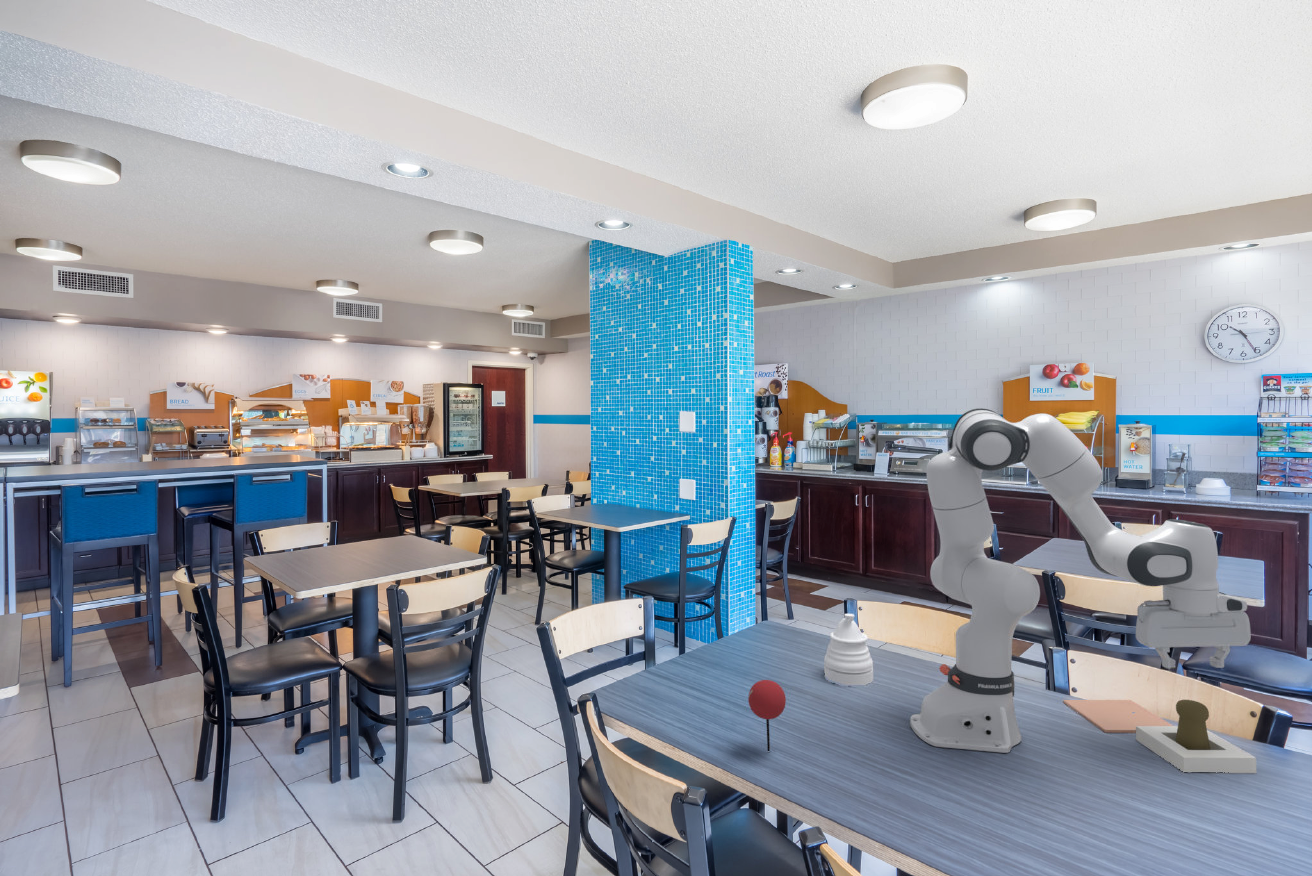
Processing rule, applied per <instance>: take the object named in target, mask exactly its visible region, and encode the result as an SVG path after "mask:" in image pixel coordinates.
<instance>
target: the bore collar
mask: <svg viewBox="0 0 1312 876" xmlns="http://www.w3.org/2000/svg"><path fill="white" fill-rule="evenodd" d="M1177 729H1178V725H1173V726H1136V733H1135V740H1136V741H1137V742H1138V743H1140V744H1141V745H1143V747H1146V748H1147V749H1149V750H1150V751H1151V752H1153V753H1154V754H1156V755H1158V756H1159V757H1160V756H1161V757H1160V758H1161V759H1163V758H1164V759H1163V760H1165V762H1168V763H1169V762H1170V763H1171V765H1172V766H1173V765H1174V766H1173V767H1175V768H1176V767H1177V768H1176V769H1177V770H1179V769H1180V770H1179V771H1180V772H1182V771H1183V772H1182V773H1184V772H1216V773H1215V774H1218V773H1217V772H1223V773H1222V774H1257V757H1256V756H1254V755H1252V754H1250V753H1249V752H1247V751H1246V750H1244V749H1241V748H1240V747H1239V746H1236V745H1235V744H1233V743H1231V742H1229V741H1228V740H1226V739H1224V738H1222V737H1221V736H1219V735H1217V734H1215V733H1214V732H1211V731H1209V730H1208V729H1207V733H1208V739H1209V744H1210V750H1187V749H1186V748H1184V747H1183V746H1181V745H1179V744H1178V743H1176V735H1177ZM1170 763H1169V764H1170ZM1224 772H1225V773H1224ZM1228 772H1229V773H1228Z"/></svg>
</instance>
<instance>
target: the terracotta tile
mask: <svg viewBox="0 0 1312 876" xmlns="http://www.w3.org/2000/svg"><path fill="white" fill-rule="evenodd" d="M1063 702H1064V703H1063ZM1062 703H1063V704H1065V705H1066V706H1067V707H1068V708H1070V709H1072V710H1073V711H1074V710H1075V711H1074V712H1076V713H1077V712H1078V713H1077V714H1079V715H1080V716H1081V715H1082V717H1083V718H1084V719H1086V720H1087V721H1088V722H1089V723H1091V724H1092V725H1094V726H1095V727H1097V728H1098V729H1099V730H1100V731H1102V732H1103V733H1107V734H1108V733H1109V734H1112V733H1113V734H1117V733H1118V734H1123V733H1124V734H1136V726H1174V725H1173V724H1171V723H1170V722H1168V721H1166V720H1165V719H1163V718H1161V717H1159V716H1158V715H1156V714H1155V713H1153V712H1151V711H1150V710H1148V709H1146V708H1145V707H1143V706H1142V705H1140V704H1138V703H1136V702H1135V701H1134V700H1131V699H1063V700H1062ZM1132 712H1135V713H1132Z"/></svg>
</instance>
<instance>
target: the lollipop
mask: <svg viewBox="0 0 1312 876" xmlns="http://www.w3.org/2000/svg"><path fill="white" fill-rule="evenodd" d="M786 698H787V697H786V693H785V691H784V689H783V688H782V686H781V685H780V684H779V683H778V682H776V681H773V680H769V679H761V680H759V681H756V682H755V683H754V684H753V685H752V686H751V687H750V689H749V692H748V696H747V699H748V701H747V702H748V705H749V707H750V709H751V712H752V713H753V714H754V715H756V716H757V717H759V718H760V719H763V720H766V740H767V741H766V742H767V744H766V745H767V747H766V748H767V751H770V752H771V749H770V747H771V745H770V744H771V743H770V720H773V719H776V718H778V717H779V716H780V715H781V714H782V713H783V712H784V711H785V710H784V709H785V707H786V703H787V702H786V701H787V699H786Z"/></svg>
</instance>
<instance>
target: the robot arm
mask: <svg viewBox="0 0 1312 876" xmlns="http://www.w3.org/2000/svg"><path fill="white" fill-rule="evenodd" d="M948 443H949V444H948V447H949V450H947V451H944V452H940V453H938V454H937V455H935V456H933V457H932V458H931V459H929V461H928V463H927V465H926V470H925V471H926V482H927V483H926V485H927V490H928V495H929V496H928V497H929V499H930V503H931V507H932V511H933V514H934V519H935V522H936V526H937V529H938V534H939V539H940V540H939V542H940V548H939V554H938V556H936V558H935V559H934V560H933V562H932V564H931V567H930V573H929V574H930V580H931V583H932V585H933V586H934V588H935V589H937V590H938V591H940V592H941V593H943V594H944V595H946V596H947V597H949V598H951V599H952V600H955V601H958V602H962V603H965V604H968V605H970V606H971V608H972V609H971V616H970V619H969V621H968V622H966V623H964V624H962V625H960V626H959V627H958V628H957V629H956V631H955V664H954V665H953V666H952V668H950V667H949V666H948V665H947V664H946V663H945V664H944V663H943V664H940V665H939V671H940V673H942V674H943V676H944V675H945V676H947V681H946V682H945V683H943V684H941V685H940V686H939V687H937V688H936V689H934V690H932V691H930V693H928V694H926V695H925V696H924V697H923V699H922V702H921V706H920V713H918V714H917V713H916V714H912V715H911V716H910V719H909V725H910V727H911V729H912V731H913V732H914V733H915V735H916V736H917V737H919V738H920V739H921V740H922V741H923V742H926V743H927V744H929V745H931V746H933V747H936V748H937V747H938V748H947V749H948V748H949V749H960V750H961V749H962V750H969V751H981V752H990V753H991V752H992V753H1006V754H1008V753H1010V752H1011V750H1012V748H1013V747H1014V746H1017V745H1018V744H1020V743H1021V742H1022V737H1023V736H1022V734H1021V732H1020V729H1019V724H1018V721H1017V715H1016V710H1015V704H1014V703H1015V701H1014V697H1015V685H1016V684H1015V673H1014V672H1013V670H1012V653H1013V652H1012V651H1013V648H1012V647H1013V636H1014V633H1015V631H1016V628H1017V625H1018V624H1019V622H1020V621H1021V619H1022V618H1024V617H1025V616H1027V615H1029V614H1031V613H1032V612H1033V611H1034V610H1035V609H1036V608H1037V606H1038V603H1039V601H1040V598H1041V589H1040V588H1041V587H1040V584H1039V582H1038V579H1037V578H1036V577H1035V575H1034V574H1033V573H1031V572H1030V571H1027V570H1025V569H1023V568H1021V567H1019V566H1017V565H1016V564H1013V563H1011V562H1005V561H1002V560H998V559H997V560H996V559H993V558H988V556H987V555H986V553H985V549H984V547H985V546H984V545H985V544H984V543H986V542H987V540H989V539H990V538H991V537H992V535H993V534H994V530H995V525H994V521H993V516H992V513H991V510H990V506H989V502H988V499H987V495H986V492H985V489H984V485H983V481H982V473H983V471H987V472H988V471H990V472H991V471H997V470H998V471H999V470H1002V469H1005V468H1007V467H1010V466H1013V465H1016V464H1019V463H1022V464H1023V465H1024V466H1025V467H1026V468H1027V470H1029V472H1031V475H1033V476H1034V478H1035V479H1036V480H1037V482H1038V483H1040V484H1041V487H1043V488H1044V490H1046V491H1047V493H1048V494H1049V495H1050V496H1051V497H1052V498H1053V499H1054V500H1055V502H1056V504H1057V505H1058V507H1059V508H1060V509H1061V511H1062V512H1063V514H1065V515H1064V516H1066V517H1067V520H1069V521H1070V523H1071V524H1072V526H1073V527H1074V529H1075V530H1076V531H1077V532H1078V534H1079V535H1080V537H1081V538H1082V540H1083V543H1084V545H1085V548H1086V552H1087V556H1088V558H1089V560H1090V562H1091V564H1092V565H1093V567H1094V568H1095V569H1097V570H1098V571H1099V572H1102V573H1103V574H1105V575H1110V576H1114V577H1118V578H1121V579H1122V580H1123V579H1124V580H1127V581H1129V582H1131V583H1135V584H1139V585H1141V586H1145V587H1162V599H1157V600H1151V599H1150V600H1144V602H1142V603H1141V604H1140V605H1139V606H1137V610H1136V612H1137V618H1136V623H1135V625H1136V626H1135V639H1136V640H1137V641H1138V642H1139V643H1140V644H1141V645H1143V646H1146V647H1147V648H1155V650H1156V652H1157V654H1158V655H1159V656H1160V658H1161V665H1162V667H1164V668H1165V669H1168V670H1169V669H1176V663H1177V662H1176V659H1174V658H1172V657H1170V655H1169V654H1168V653H1170V652H1171V650H1170V648H1191V647H1192V648H1193V647H1194V648H1196V647H1197V648H1198V647H1201V648H1203V647H1214V648H1216V650H1215V652H1214V655H1213V656H1209V665H1210V666H1211V667H1214V668H1217V669H1218V668H1224V667H1225V660H1226V658H1227V656H1228V655H1229V653H1230V652H1231V647H1240V646H1241V647H1242V646H1243V647H1245V646H1248V644H1249V643H1250V642H1251V623H1250V622H1251V621H1250V618H1249V616H1248V614H1247V613H1246V612H1245V611H1247V610H1248V603H1247V601H1246V600H1244V599H1241V598H1239V597H1235V596H1232V595H1229V594H1226V593H1223V592H1221V591H1220V585H1219V583H1218V579H1217V570H1218V568H1219V554H1218V545H1217V539H1216V536H1215V533H1214V531H1213V529H1212V528H1211V527H1210V526H1208V525H1206V524H1204V523H1198V522H1196V521H1195V522H1194V521H1189V520H1182V519H1175V518H1172V519H1171V518H1170V519H1167V520H1165V521H1164V523H1163V524H1162V525H1160V526H1158V527H1157V528H1155V529H1154V530H1152V531H1150V532H1147V533H1144V534H1141V535H1137V534H1133V533H1129V532H1127V531H1124V530H1123V529H1120V528H1118V527H1117V526H1115V525H1114V524H1113V523H1111V521H1110V519H1109V518H1108V517H1107V515H1105V513H1104V511H1103V510H1102V508H1101V507H1100V506H1099V505H1098V503H1097V502H1096V501H1095V500H1094V497H1093V493H1095V492H1096V491H1097V490H1098V489H1099V487H1100V486H1101V483H1102V480H1103V470H1102V467H1101V466H1100V464H1099V462H1098V460H1097V459H1096V458H1095V456H1094V455H1093V454H1092V453H1091V451H1090V450H1089V448H1087V446H1085V444H1084V443H1083V442H1082V441H1081V439H1080V438H1078V437H1077V435H1076V434H1074V432H1072V431H1071V430H1070V428H1069V427H1067V426H1066V425H1065V424H1064V423H1062V421H1060V420H1059V419H1057V418H1056V417H1055V416H1053V415H1051V414H1048V413H1035V414H1031V415H1029V416H1026V417H1025V418H1024V419H1022V420H1021V421H1017V422H1010V421H1008V420H1006V419H1005V418H1004V417H1002V415H1000V414H999V413H997V412H996V411H993V410H991V409H989V408H975V409H974V408H973V409H970V410H968V411H966V412H964V413H963V414H962V415H961V416H959V417H958V419H957V421H956V422H955V425H954V427H953V430H952V433H951V437H950V440H949V442H948Z"/></svg>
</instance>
